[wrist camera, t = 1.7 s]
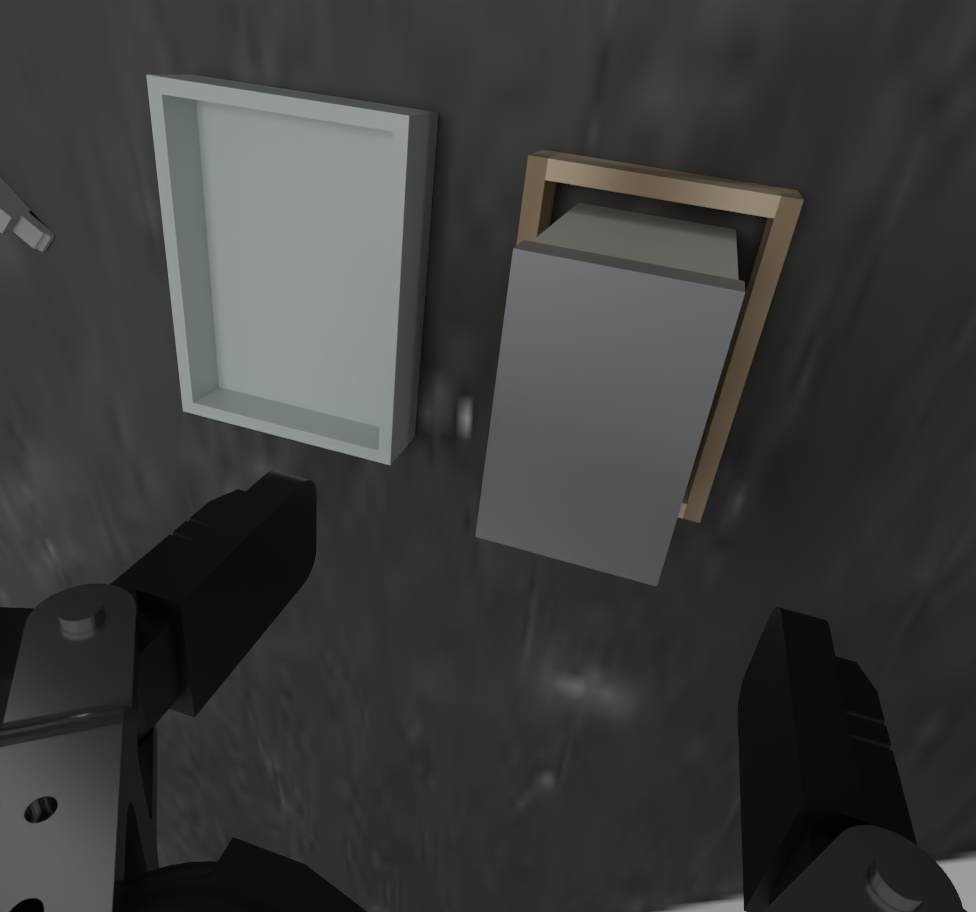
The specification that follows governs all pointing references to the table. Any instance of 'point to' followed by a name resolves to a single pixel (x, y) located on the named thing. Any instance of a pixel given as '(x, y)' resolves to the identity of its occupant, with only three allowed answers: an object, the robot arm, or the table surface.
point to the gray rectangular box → (606, 385)
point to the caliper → (21, 220)
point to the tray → (296, 258)
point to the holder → (701, 192)
